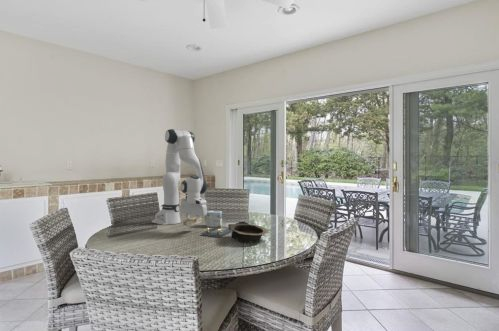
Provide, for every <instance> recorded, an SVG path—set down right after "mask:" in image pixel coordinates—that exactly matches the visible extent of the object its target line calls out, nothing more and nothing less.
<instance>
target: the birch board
mask: <svg viewBox="0 0 499 331" xmlns="http://www.w3.org/2000/svg"><path fill="white" fill-rule="evenodd" d="M196 218H197V217H196V216H195V217H191V218H190V219H187V218H186V219H184V220H183V226H187V227H190V226H193V225H197V224H201V223H203V222H202V220H203V218H202V217H199V219H198V222H195V219H196Z"/></svg>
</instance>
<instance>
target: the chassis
mask: <svg viewBox="0 0 499 331" xmlns="http://www.w3.org/2000/svg"><path fill="white" fill-rule="evenodd" d="M230 224H231V223H229V224H228V225H230ZM232 232H233V231H232V230H231V229H230V228H229V227H228V226H223V225H222V226H221V223H219V226H217V227H211V228H210V227H206V230H205V231H202V232H201V236H205V237H212V238H218V239H219V238H223V237H225V236H227V235H229V234H232Z"/></svg>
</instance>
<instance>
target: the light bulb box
mask: <svg viewBox="0 0 499 331" xmlns="http://www.w3.org/2000/svg"><path fill="white" fill-rule="evenodd" d="M205 221H206V222H205V227H206V228H215V227H217V226H219V223H221V226H222V227H223V210H207V214H206V215H205Z"/></svg>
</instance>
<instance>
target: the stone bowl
mask: <svg viewBox="0 0 499 331" xmlns="http://www.w3.org/2000/svg"><path fill="white" fill-rule="evenodd" d="M229 224H230V225H229ZM229 224H228V226H227V227H229V228H230V229H231V230H232V231H233V232H231V233H230V235H231V239H236V240H237V241H238V242H240V243H242V244H243V243H246V244H247V243H248V244H249V243H258V242H259V241H260V240H261V238H262V236H263V235H266V234H268V233H269V230H268V229H267V228H265V227H263V226H261V225H257V224H250V223H249V222H245V221H239V222H236V223H229Z"/></svg>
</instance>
